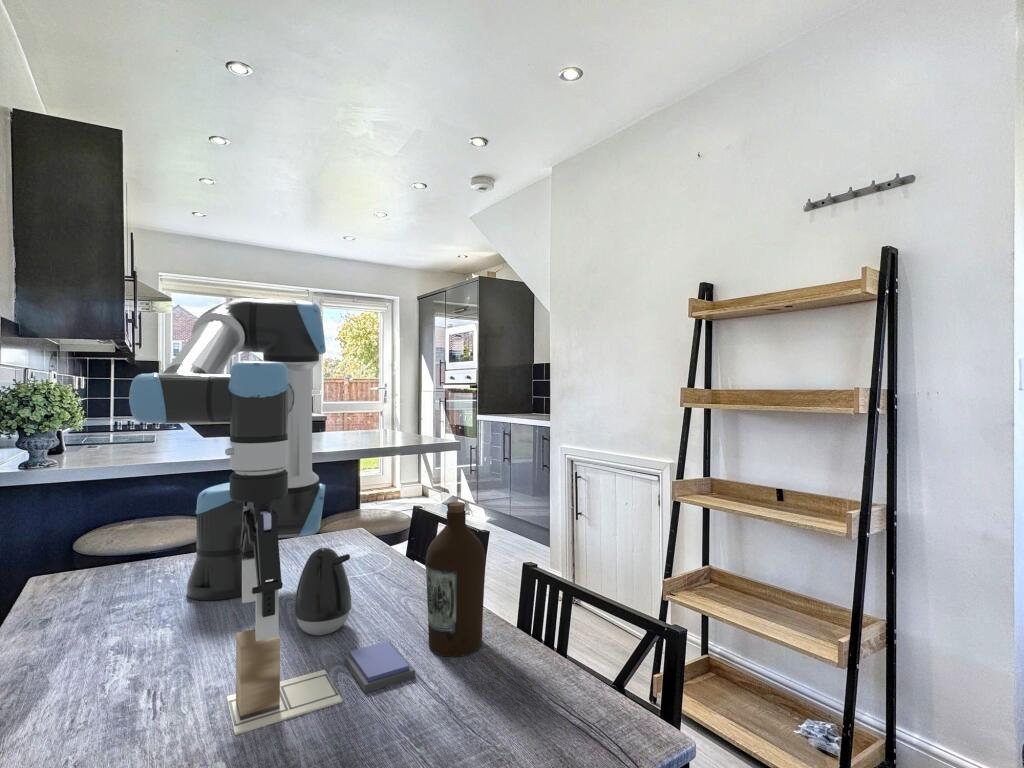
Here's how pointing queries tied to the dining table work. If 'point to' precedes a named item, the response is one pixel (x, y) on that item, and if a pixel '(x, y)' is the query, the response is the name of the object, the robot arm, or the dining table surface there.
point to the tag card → (290, 701)
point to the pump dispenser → (323, 593)
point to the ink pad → (378, 666)
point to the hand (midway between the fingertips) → (258, 618)
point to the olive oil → (455, 587)
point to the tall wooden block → (257, 674)
